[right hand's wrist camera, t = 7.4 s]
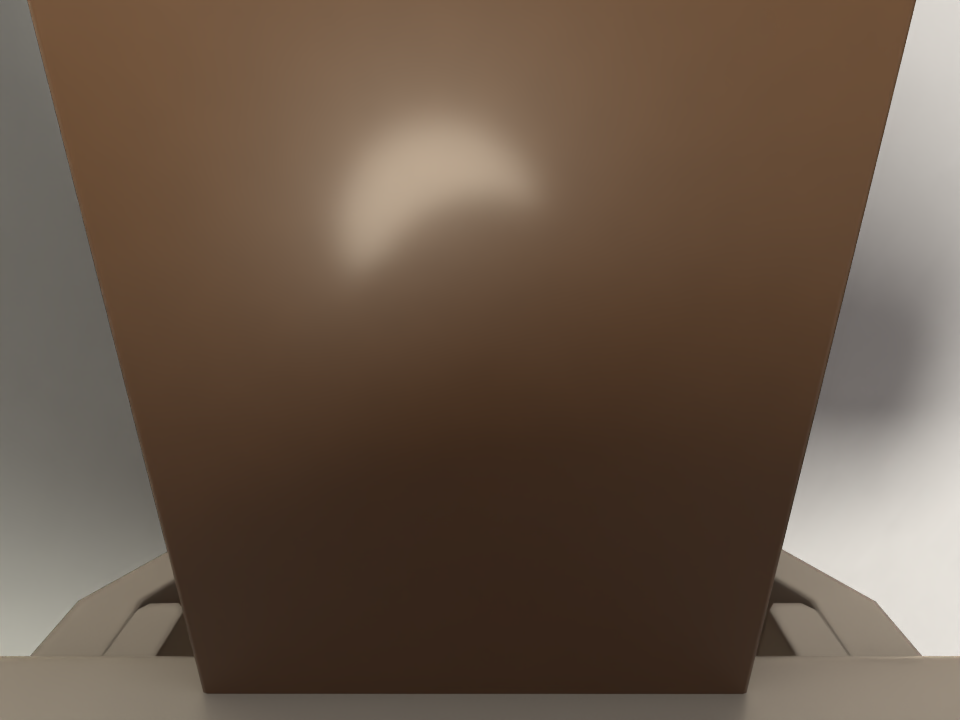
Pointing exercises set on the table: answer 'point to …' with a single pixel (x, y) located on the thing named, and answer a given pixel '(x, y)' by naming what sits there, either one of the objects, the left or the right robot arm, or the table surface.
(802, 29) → the post
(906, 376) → the table surface
